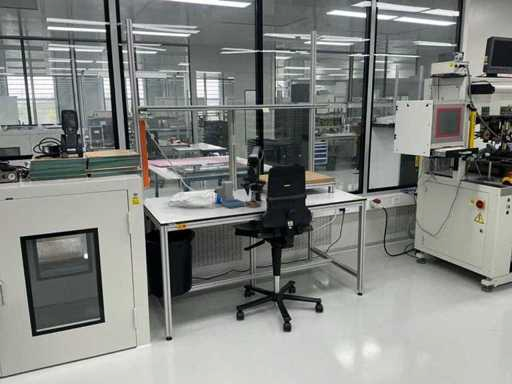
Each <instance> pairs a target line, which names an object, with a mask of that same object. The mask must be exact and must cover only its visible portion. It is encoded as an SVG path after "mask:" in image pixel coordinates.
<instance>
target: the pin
mask: <svg viewBox="0 0 512 384" xmlns="http://www.w3.org/2000/svg"><path fill="white" fill-rule="evenodd" d="M249 193H250V201H251V202H252V203H254V202H255V193H256V191H251V190H249Z"/></svg>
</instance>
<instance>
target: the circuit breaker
mask: <svg viewBox="0 0 512 384" xmlns="http://www.w3.org/2000/svg"><path fill="white" fill-rule="evenodd" d="M220 183H221V185H220V186H215V187H214V188H215V189H214V191H213V193H214V192H215V193H217V194H218V195H220V196H221V198H222V201H226V200H233V199H235V195H234V194H233V193H234V191H233V190H234V189H235V184H234V182H233V181H232V180H223V181H220ZM215 193H214V194H215ZM221 198H220V199H221Z"/></svg>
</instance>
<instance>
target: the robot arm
mask: <svg viewBox="0 0 512 384" xmlns="http://www.w3.org/2000/svg"><path fill="white" fill-rule="evenodd" d="M264 152H265V151H264V149H263V148H262V147H261V146H253V148H252V150H251V154H249V155H248V157H247V162H246V167H248V168H247V171H246V173H247V176H242V182H240V183H239V185H240V187H241V188H243V189H244V190H245V193H246V196H247V197H249V195H250V191H256V193H255V200H256V201H259V202H262V201H263V199H262V194H263V193H264V187H265V185H266V184H267V182H266V180H264V179H261V178H260V177H261V162H262V160H263V159H264V158H263V157H264V155H265V153H264Z"/></svg>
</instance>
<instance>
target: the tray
mask: <svg viewBox="0 0 512 384" xmlns="http://www.w3.org/2000/svg"><path fill="white" fill-rule="evenodd" d="M220 201H221V200H220ZM220 204H221V206H222V205H223V206H222V207H225V208H227V209H233V208H240V207H245V201H244V200H241V199H238V198H234V199H233V200H226V201H221V202H220Z"/></svg>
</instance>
